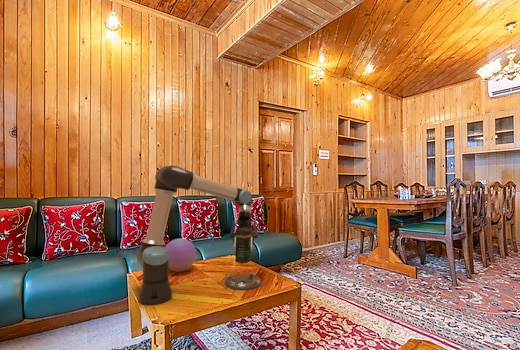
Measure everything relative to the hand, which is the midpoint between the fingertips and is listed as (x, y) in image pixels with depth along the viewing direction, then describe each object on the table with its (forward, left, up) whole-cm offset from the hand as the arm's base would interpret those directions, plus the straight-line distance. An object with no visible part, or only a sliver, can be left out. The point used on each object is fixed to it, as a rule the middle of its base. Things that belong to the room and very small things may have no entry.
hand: (243, 248), depth 154 cm
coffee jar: (-2, +3, -8) cm, 9 cm away
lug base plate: (-2, +3, -20) cm, 20 cm away
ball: (-47, 0, -20) cm, 51 cm away
